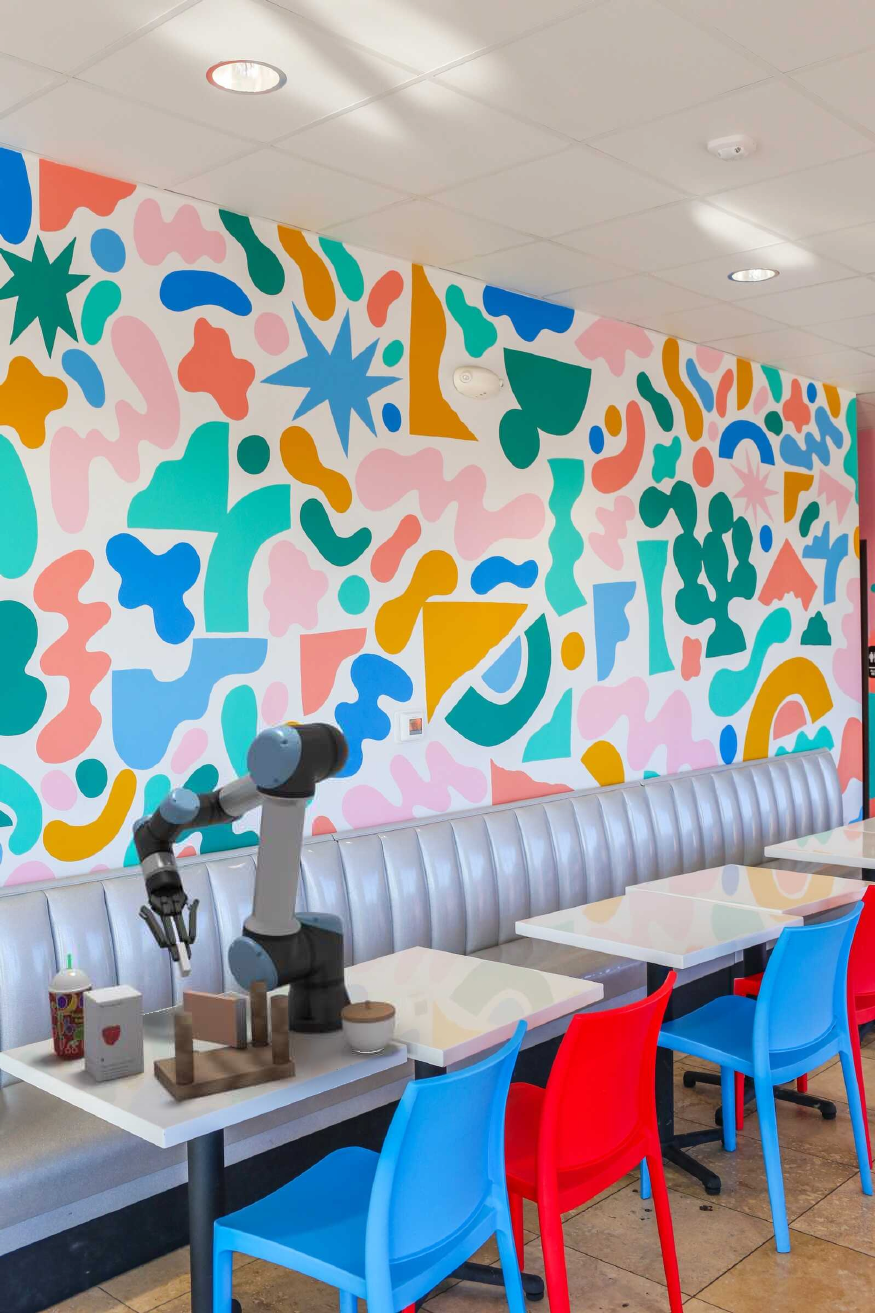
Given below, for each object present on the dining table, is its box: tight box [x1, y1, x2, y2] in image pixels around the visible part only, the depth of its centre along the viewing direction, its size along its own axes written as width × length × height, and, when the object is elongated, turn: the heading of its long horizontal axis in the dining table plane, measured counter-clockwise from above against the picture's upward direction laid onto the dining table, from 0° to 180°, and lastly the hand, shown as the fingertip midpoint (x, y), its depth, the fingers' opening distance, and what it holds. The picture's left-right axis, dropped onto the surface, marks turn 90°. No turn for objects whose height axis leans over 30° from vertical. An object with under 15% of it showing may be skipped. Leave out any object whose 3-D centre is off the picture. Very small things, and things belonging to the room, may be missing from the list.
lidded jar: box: [341, 999, 396, 1052], centre depth 230 cm, size 11×11×9 cm
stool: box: [153, 981, 296, 1102], centre depth 217 cm, size 22×16×14 cm
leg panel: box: [182, 989, 248, 1048], centre depth 228 cm, size 15×2×9 cm, turn 59°
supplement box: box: [83, 984, 145, 1083], centre depth 221 cm, size 9×9×15 cm
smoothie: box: [47, 953, 93, 1060], centre depth 231 cm, size 8×8×20 cm
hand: (186, 973), depth 238 cm, fingers closed
